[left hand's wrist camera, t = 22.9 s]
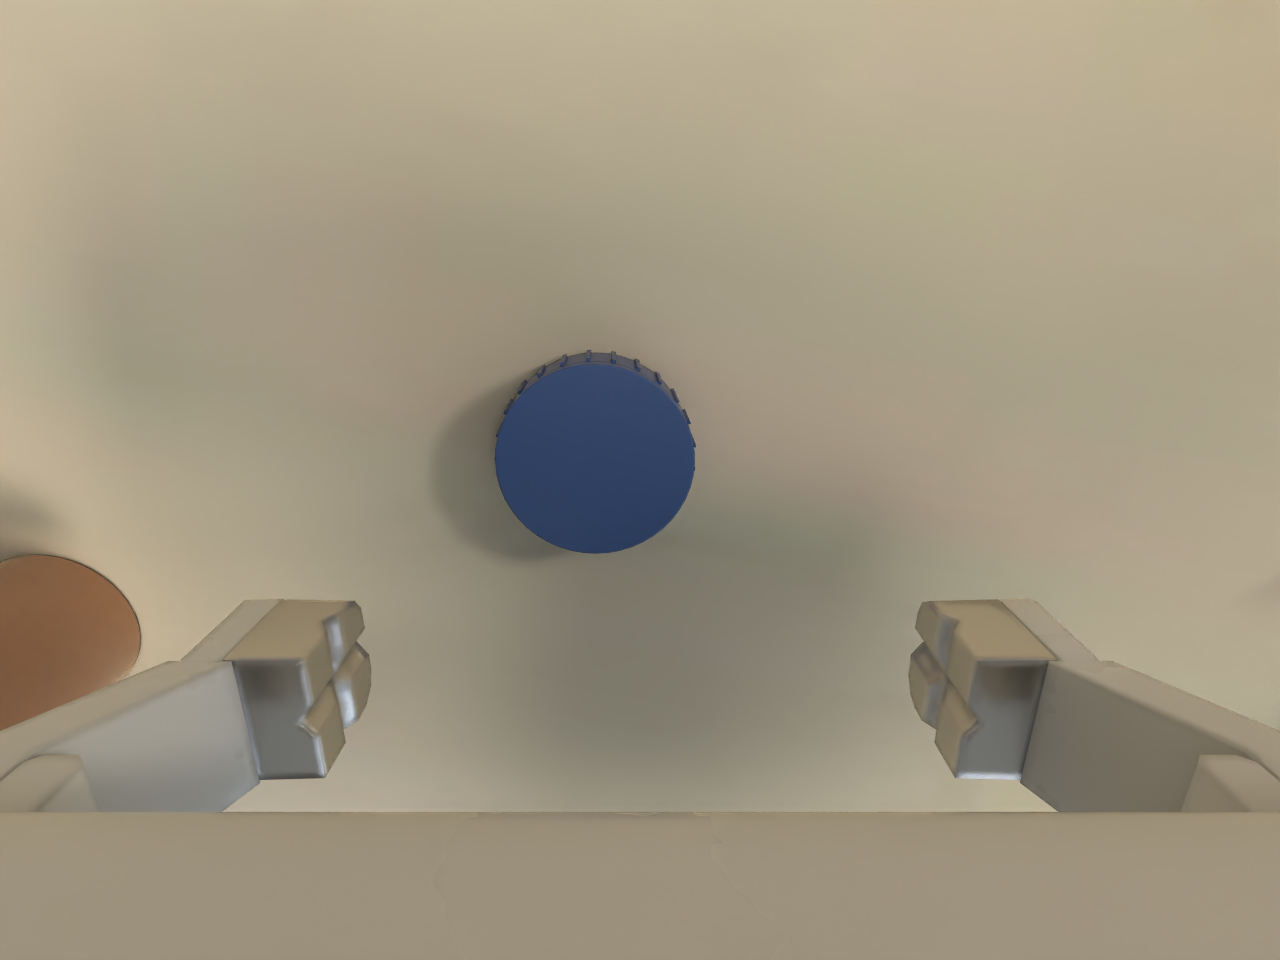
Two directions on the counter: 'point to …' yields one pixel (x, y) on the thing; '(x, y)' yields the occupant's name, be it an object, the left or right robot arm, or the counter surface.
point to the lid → (595, 453)
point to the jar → (59, 635)
